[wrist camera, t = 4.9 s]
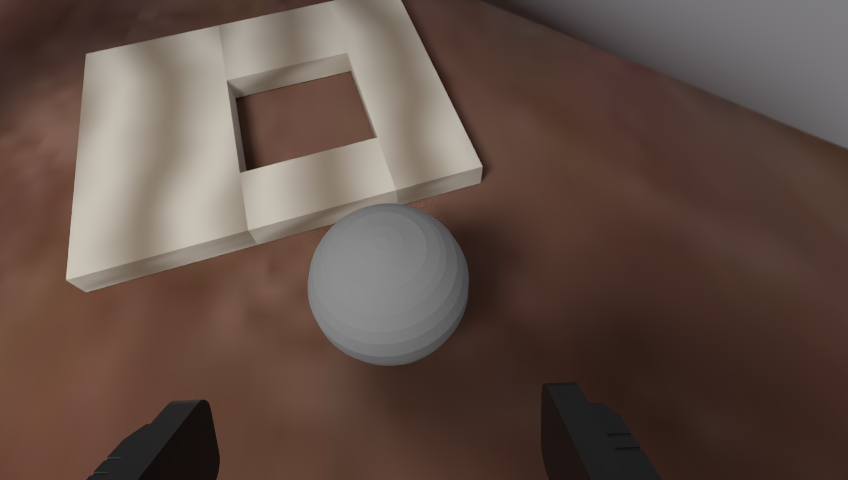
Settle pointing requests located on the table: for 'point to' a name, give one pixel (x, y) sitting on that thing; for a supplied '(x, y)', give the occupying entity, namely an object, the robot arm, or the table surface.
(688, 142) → the table surface
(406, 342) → the light bulb
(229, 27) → the cream board with hole
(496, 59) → the table surface
